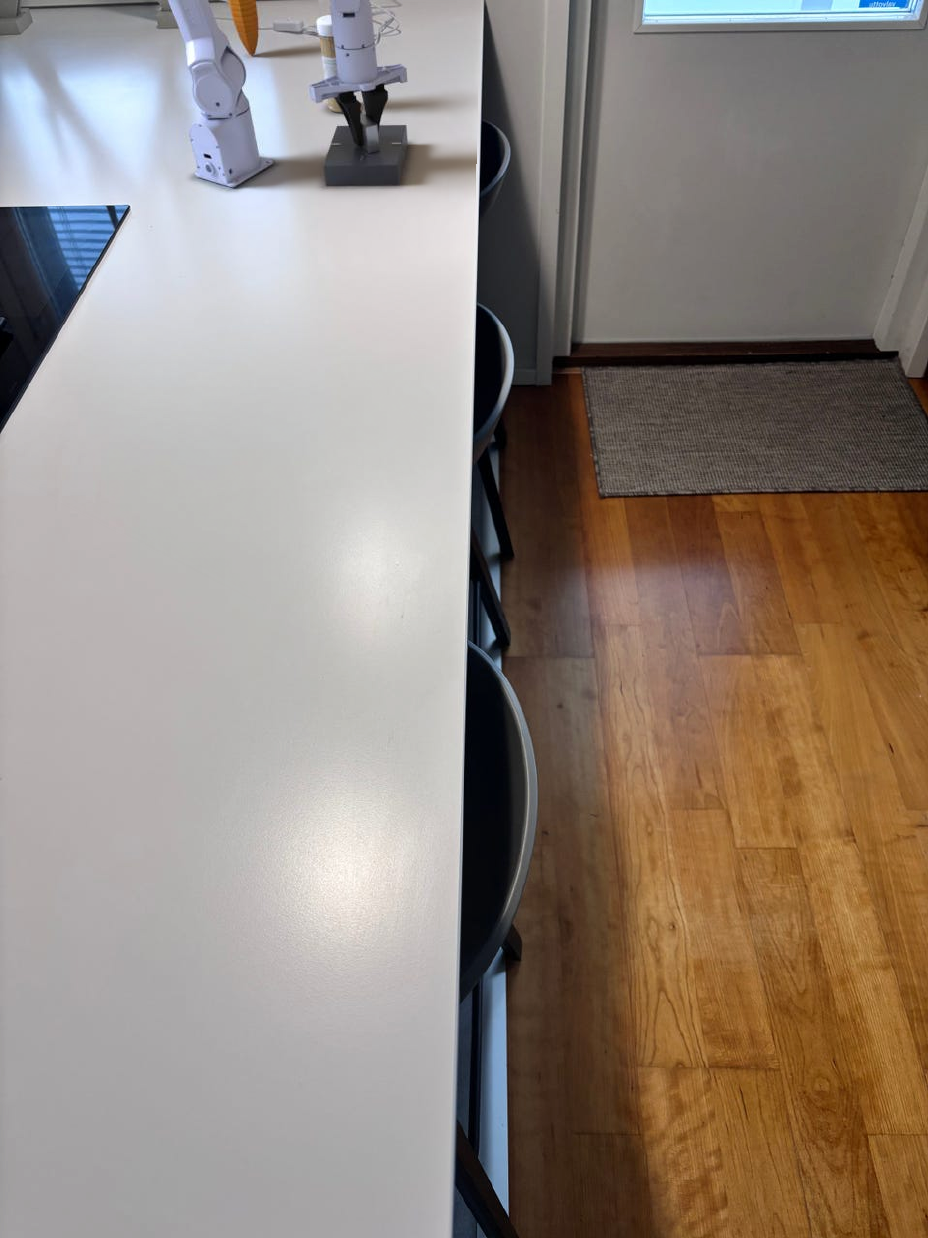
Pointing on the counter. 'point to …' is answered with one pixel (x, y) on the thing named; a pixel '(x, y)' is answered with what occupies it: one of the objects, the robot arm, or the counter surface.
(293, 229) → the counter surface
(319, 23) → the sprinkles bottle
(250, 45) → the carrot
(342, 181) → the base
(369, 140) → the tap handle
